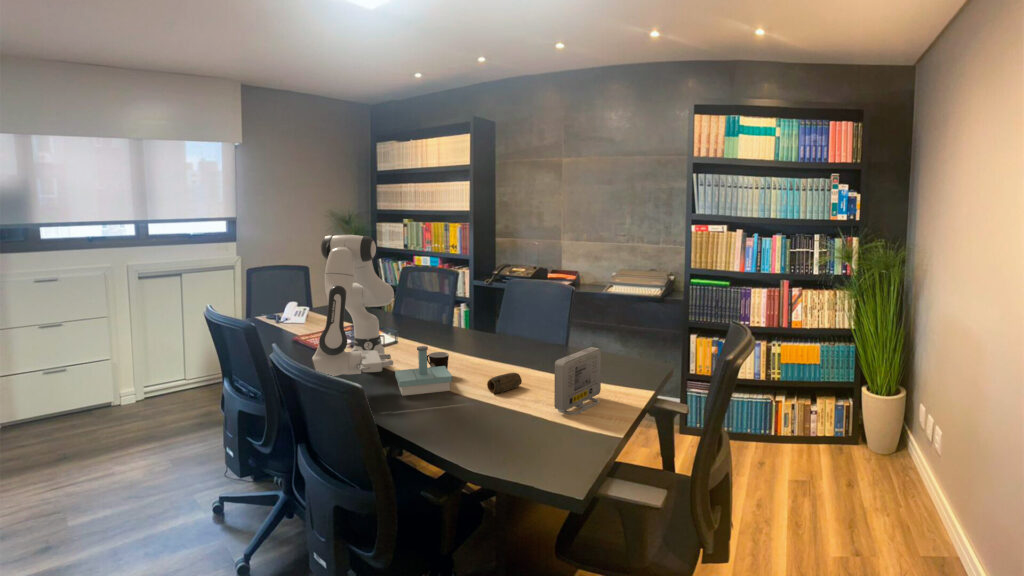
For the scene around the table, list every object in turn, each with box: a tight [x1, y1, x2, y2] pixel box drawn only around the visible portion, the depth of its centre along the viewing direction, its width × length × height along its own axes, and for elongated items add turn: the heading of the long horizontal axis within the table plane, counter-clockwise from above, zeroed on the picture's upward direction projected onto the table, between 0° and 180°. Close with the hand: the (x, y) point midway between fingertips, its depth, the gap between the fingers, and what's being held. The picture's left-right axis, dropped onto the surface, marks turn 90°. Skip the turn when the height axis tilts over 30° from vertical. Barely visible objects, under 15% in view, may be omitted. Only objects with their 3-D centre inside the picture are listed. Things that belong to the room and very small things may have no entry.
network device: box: [553, 346, 602, 416], centre depth 227 cm, size 26×9×20 cm, turn 141°
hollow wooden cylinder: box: [486, 372, 523, 394], centre depth 247 cm, size 15×7×7 cm, turn 138°
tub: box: [397, 382, 451, 397], centre depth 248 cm, size 13×19×6 cm
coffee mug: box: [427, 351, 450, 370], centre depth 265 cm, size 12×9×10 cm
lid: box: [394, 345, 454, 388], centre depth 247 cm, size 15×21×13 cm
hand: (391, 359), depth 242 cm, fingers open, 8 cm apart
